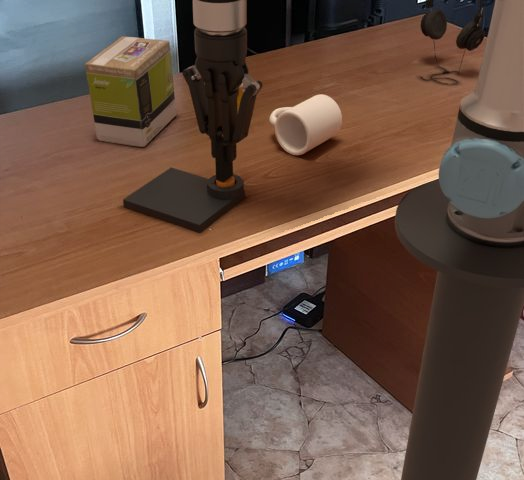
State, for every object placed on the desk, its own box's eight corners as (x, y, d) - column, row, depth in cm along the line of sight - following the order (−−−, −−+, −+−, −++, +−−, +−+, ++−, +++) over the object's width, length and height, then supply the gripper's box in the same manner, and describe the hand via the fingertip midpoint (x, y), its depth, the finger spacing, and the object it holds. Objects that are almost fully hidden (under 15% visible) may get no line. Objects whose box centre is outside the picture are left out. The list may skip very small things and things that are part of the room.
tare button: (238, 187, 128) (238, 177, 127) (228, 195, 126) (228, 185, 125) (223, 182, 129) (222, 173, 128) (212, 190, 127) (212, 180, 126)
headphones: (394, 68, 173) (405, -29, 160) (428, 57, 179) (441, -39, 166) (448, 89, 164) (464, -13, 151) (482, 76, 170) (500, -23, 157)
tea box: (131, 109, 156) (122, 33, 146) (177, 116, 153) (172, 39, 144) (95, 141, 145) (83, 61, 135) (144, 149, 143) (136, 68, 133)
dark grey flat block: (250, 195, 130) (250, 179, 128) (202, 233, 120) (201, 216, 119) (174, 172, 136) (173, 156, 134) (123, 207, 127) (121, 190, 125)
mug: (341, 142, 145) (344, 100, 140) (309, 161, 139) (311, 118, 134) (289, 124, 151) (290, 83, 146) (256, 142, 145) (256, 100, 140)
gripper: (273, 27, 111) (271, 178, 126) (197, 11, 116) (204, 158, 132) (245, 43, 106) (246, 198, 121) (167, 26, 111) (178, 176, 127)
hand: (224, 177), depth 126 cm, fingers closed
